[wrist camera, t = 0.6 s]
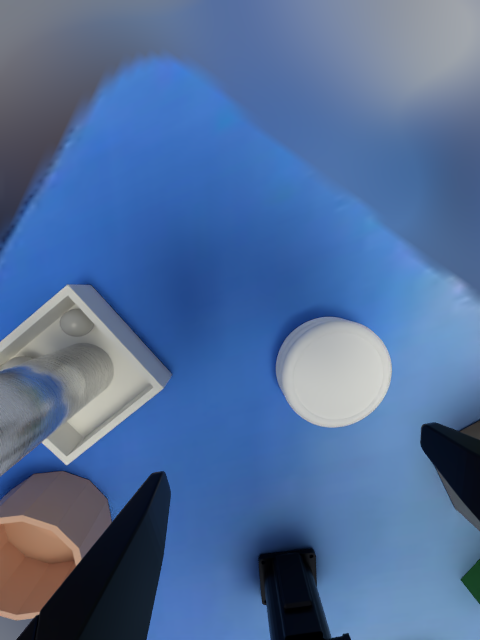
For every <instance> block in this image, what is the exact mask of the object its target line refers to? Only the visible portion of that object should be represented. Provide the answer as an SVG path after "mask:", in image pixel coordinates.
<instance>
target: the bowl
mask: <svg viewBox="0 0 480 640" xmlns="http://www.w3.org/2000/svg"><path fill="white" fill-rule="evenodd" d="M111 523H112V521H111V516H110V510H109V505H108V499H107V498H106V497H105V496H104V495H103V494H102V493H101V492H100V491H99V490H98V489H97V488H96V487H95V486H94V485H93V484H92V482H91V481H90V480H87V479H84V478H81V477H78V476H76V475H73V474H70V473H67V472H64V471H58V472H48V473H39V474H33V475H32V476H31V477H29V478H28V479H26V480H25V481H23V482H22V483H20V484H19V485H18V486H16V487H15V488H13V489H12V490H11V491H10V492H9V493H8V494H6V495H5V496H4V497H3V498H2V499H1V500H0V616H2V617H6V618H9V619H13V620H23V619H31V618H34V617H35V616H36V615H38V614H39V613H40V610H41V609H42V608H43V606H44V605H45V604H46V603H47V601H48V600H49V599H50V598H51V596H52V595H53V594H54V593H55V592H56V590H57V589H58V588H59V587H60V585H61V584H62V583H63V582H64V580H65V579H66V578H67V577H68V576H69V574H70V573H71V572H72V571H73V569H74V568H75V567H76V566H77V564H78V563H79V562H80V561H81V560H82V558H83V557H84V556H85V555H86V553H87V552H88V551H89V550H90V548H91V547H92V546H93V545H94V544H95V542H96V541H97V540H98V539H99V537H100V536H101V535H102V534H103V532H104V531H105V530H106V529H107V528H108V526H109V525H110V524H111Z"/></svg>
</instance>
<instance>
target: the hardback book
mask: <svg viewBox="0 0 480 640" xmlns="http://www.w3.org/2000/svg"><path fill="white" fill-rule="evenodd" d="M461 581H462V582H463V584H464V585H465V586H466V587H467V589H468V590H469V591H470V592H471V594H472V595H473V596H474V598H475V599H476V600H477V601H478V603H479V604H480V559H479V560H478V561H477V562H476V564H475V565H474V566H473V567H472V568H471V569H470V570H469V571H468V572H467V573H466V574H465V575H464V577H463V578H462V579H461Z"/></svg>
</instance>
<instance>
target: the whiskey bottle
mask: <svg viewBox="0 0 480 640" xmlns="http://www.w3.org/2000/svg"><path fill="white" fill-rule="evenodd" d="M460 432H461V433H464V434H466V435H469V436H471V437H474V438H477V439H479V440H480V421H478V422H476V423H474V424H473V425H471V426H469V427H467V428H465V429H463V430H461V431H460ZM436 469H437V468H436ZM437 471H438V470H437ZM438 474H439V476H440V478H441V480H442V482H443V484H444V486H445V488H446V490H447V492H448V494H449V496H450V498H451V501H452V503H453V505H454V507H455V509H456V510H457V511H458V512H459V513H461V514H462V515H463V516H464V517H465V518H466V519H467V520H468V521H469V522H470V523H471V524H472V525H474V526H475V527H476V528H477V529H478V530H479V531H480V521H479V520H478V519H477V518H476V517H475V516H474V514H473V513H472V512H471V511H470V510H469V509H468V508H467V506H466V505H465V504H464V503H463V502H462V501H461V499H460V498H459V497H458V496H457V494H456V493H455V492H454V490H453V489H452V488H451V487H450V485H449V484H448V483H447V481H446V480H445V479H444V477H443V476H442V475H441V473H440V472H439V471H438Z"/></svg>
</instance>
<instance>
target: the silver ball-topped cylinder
mask: <svg viewBox="0 0 480 640" xmlns="http://www.w3.org/2000/svg"><path fill="white" fill-rule="evenodd" d="M113 376H114V366H113V363H112V360H111V359H110V357H109V355H108V354H107V353H106V352H105V351H104V350H103V349H101V348H100V347H98V346H96V345H93V344H90V343H76V344H73V345H70V346H68V347H65V348H62V349H59V350H57V351H54V352H51V353H48V354H46V355H43V356H40V357H37V358H35V359H32V360H29V361H26V362H24V363H21V364H18V365H15V366H13V367H10V368H7V369H4V370H2V371H0V476H1V475H2V474H4V473H5V472H6V471H7V470H9V469H10V468H11V467H12V466H13V465H15V464H16V463H17V462H18V461H19V460H21V459H22V458H23V457H24V456H26V455H27V454H28V453H29V452H30V451H32V450H33V449H34V448H35V447H36V446H38V445H39V444H40V443H41V442H42V441H44V440H45V439H46V438H47V437H49V436H50V435H51V434H52V433H53V432H55V431H56V430H57V429H58V428H59V427H61V426H62V425H63V424H64V423H66V422H67V421H68V420H69V419H70V418H72V417H73V416H74V415H75V414H76V413H78V412H79V411H80V410H81V409H82V408H84V407H85V406H86V405H87V404H89V403H90V402H91V401H92V400H93V399H95V398H96V397H97V396H98V395H99V394H101V393H102V392H103V391H104V390H106V389H107V388H108V387H109V385H110V384H111V382H112V380H113Z"/></svg>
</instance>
